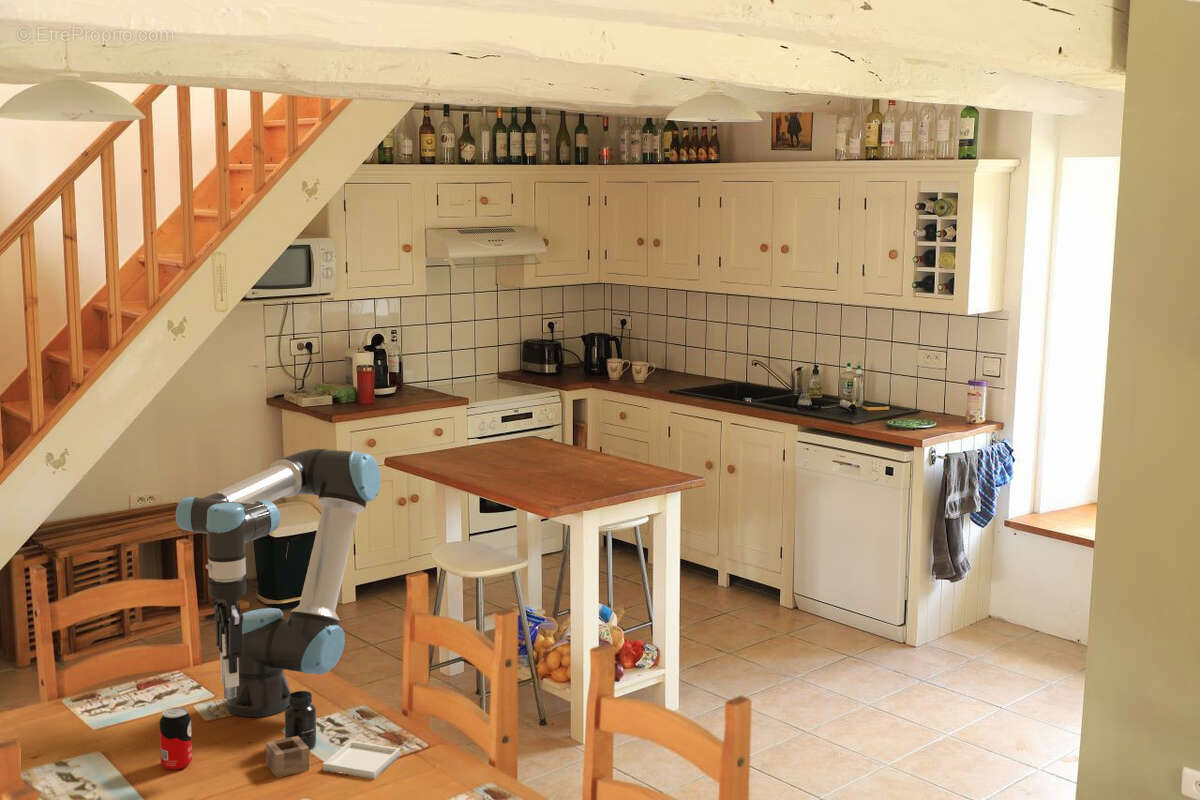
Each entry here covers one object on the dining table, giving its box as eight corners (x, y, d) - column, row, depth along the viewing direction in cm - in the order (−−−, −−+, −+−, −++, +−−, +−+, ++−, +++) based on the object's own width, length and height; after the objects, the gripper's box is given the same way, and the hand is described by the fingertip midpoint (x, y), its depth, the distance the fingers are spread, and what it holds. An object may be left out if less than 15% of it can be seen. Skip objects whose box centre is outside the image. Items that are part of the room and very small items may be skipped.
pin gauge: (222, 695, 254) (220, 632, 252) (234, 693, 256) (232, 630, 254) (225, 700, 252) (224, 636, 250) (238, 697, 254) (236, 634, 252)
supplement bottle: (308, 754, 263) (307, 702, 261) (279, 750, 264) (278, 699, 262) (321, 741, 269) (321, 690, 268) (293, 737, 271) (292, 687, 269)
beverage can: (174, 774, 252) (172, 720, 250) (154, 766, 255) (152, 713, 253) (198, 763, 257) (196, 710, 255) (179, 756, 260) (177, 703, 258)
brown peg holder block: (266, 764, 257) (266, 742, 256) (298, 757, 261) (297, 735, 260) (276, 777, 251) (276, 755, 250) (309, 770, 255) (308, 747, 254)
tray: (322, 770, 255) (322, 763, 255) (350, 747, 266) (350, 740, 266) (374, 779, 251) (374, 772, 251) (400, 755, 263) (400, 748, 263)
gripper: (198, 570, 255) (202, 675, 258) (219, 589, 242) (222, 699, 245) (234, 565, 259) (236, 668, 262) (256, 584, 246) (258, 692, 249)
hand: (229, 683), depth 254 cm, fingers closed on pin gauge, 2 cm apart
